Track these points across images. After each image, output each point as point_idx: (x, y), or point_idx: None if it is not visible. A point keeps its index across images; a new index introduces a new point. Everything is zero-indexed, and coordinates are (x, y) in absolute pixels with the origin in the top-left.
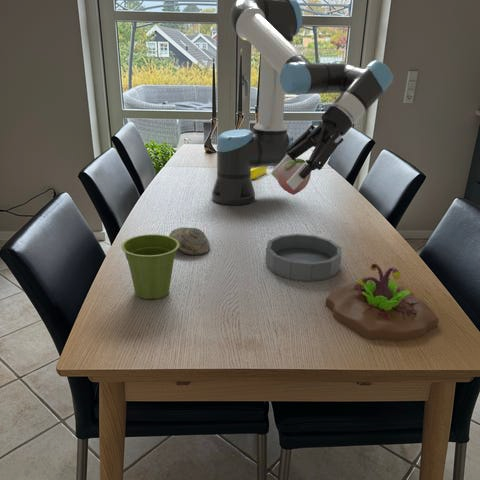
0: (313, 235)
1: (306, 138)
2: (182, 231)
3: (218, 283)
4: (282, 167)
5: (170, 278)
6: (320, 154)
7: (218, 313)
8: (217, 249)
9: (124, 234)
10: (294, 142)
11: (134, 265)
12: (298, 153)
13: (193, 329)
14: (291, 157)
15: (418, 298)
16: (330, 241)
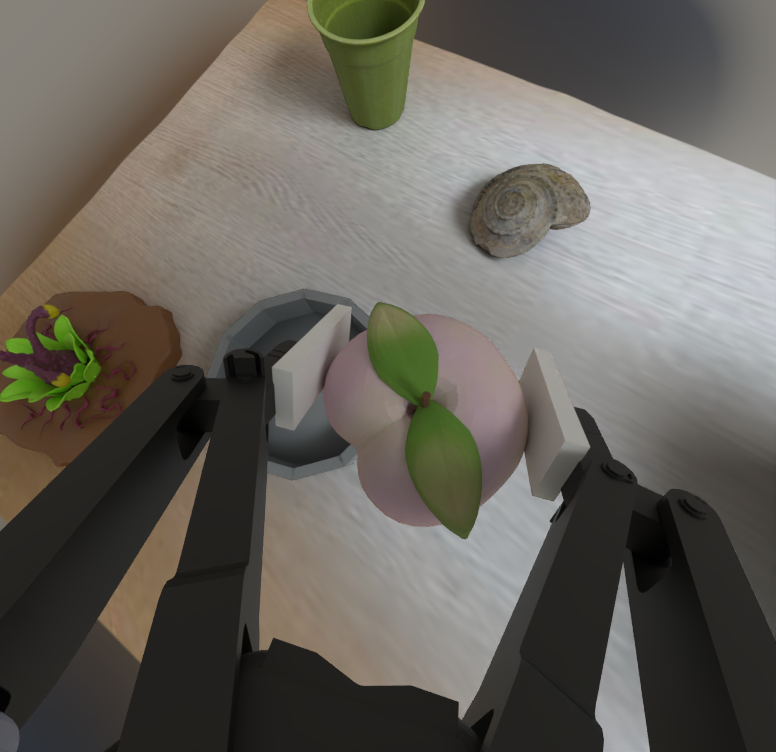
0: (346, 461)
1: (590, 697)
2: (535, 176)
3: (343, 204)
4: (435, 319)
5: (350, 99)
6: (127, 421)
7: (262, 163)
8: (482, 272)
9: (664, 139)
10: (740, 612)
11: (353, 3)
12: (549, 537)
13: (250, 120)
14: (569, 486)
15: (35, 449)
16: (288, 472)
